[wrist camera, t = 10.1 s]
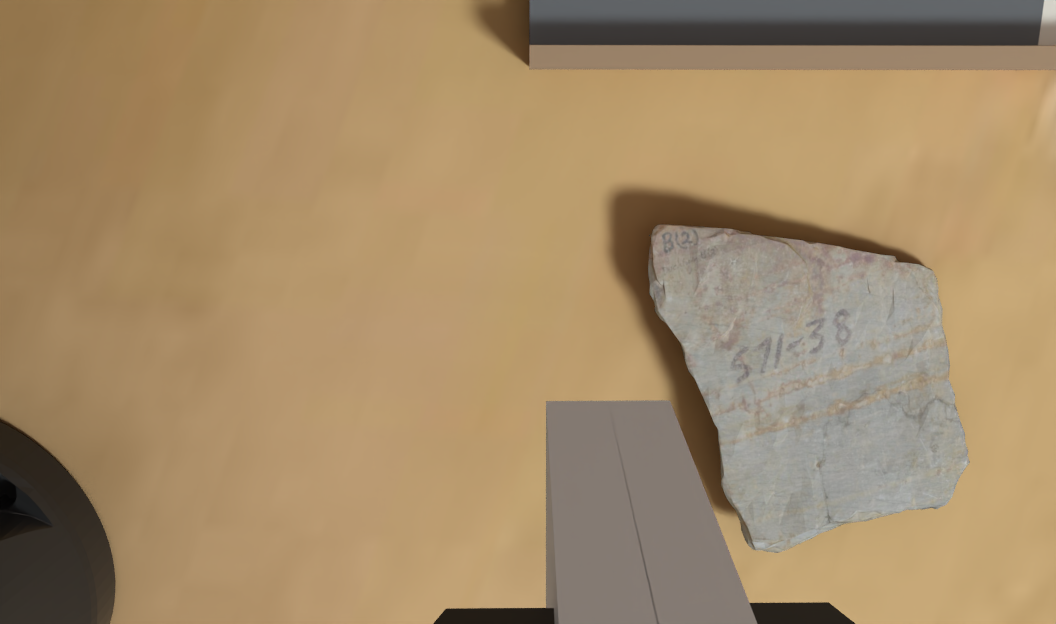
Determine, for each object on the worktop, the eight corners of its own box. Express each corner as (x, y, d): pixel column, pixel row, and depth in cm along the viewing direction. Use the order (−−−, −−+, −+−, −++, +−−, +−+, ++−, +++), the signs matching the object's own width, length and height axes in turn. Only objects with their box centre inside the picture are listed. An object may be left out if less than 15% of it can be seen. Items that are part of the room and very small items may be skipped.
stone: (628, 222, 39) (634, 235, 36) (897, 139, 38) (922, 147, 35) (725, 550, 42) (736, 582, 40) (972, 483, 41) (999, 512, 39)
